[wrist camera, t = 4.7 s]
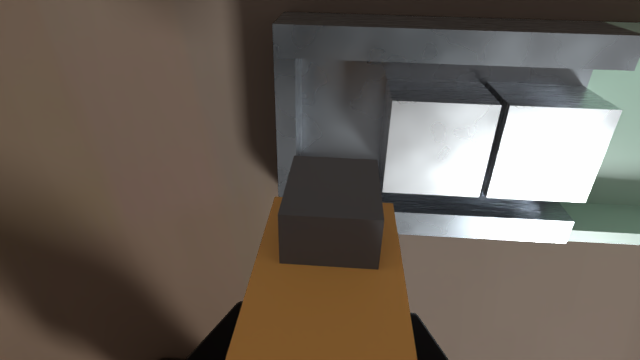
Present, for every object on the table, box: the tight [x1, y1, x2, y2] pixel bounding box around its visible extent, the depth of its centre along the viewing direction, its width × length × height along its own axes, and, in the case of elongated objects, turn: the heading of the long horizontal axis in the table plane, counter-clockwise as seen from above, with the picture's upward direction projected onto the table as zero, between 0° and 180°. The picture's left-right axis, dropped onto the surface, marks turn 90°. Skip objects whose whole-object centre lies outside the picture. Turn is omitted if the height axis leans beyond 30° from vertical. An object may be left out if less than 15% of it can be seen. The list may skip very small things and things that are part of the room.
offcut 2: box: [481, 82, 622, 203], centre depth 17 cm, size 4×4×3 cm
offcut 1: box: [379, 78, 502, 197], centre depth 18 cm, size 4×4×3 cm
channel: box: [272, 12, 640, 243], centre depth 18 cm, size 13×9×3 cm
